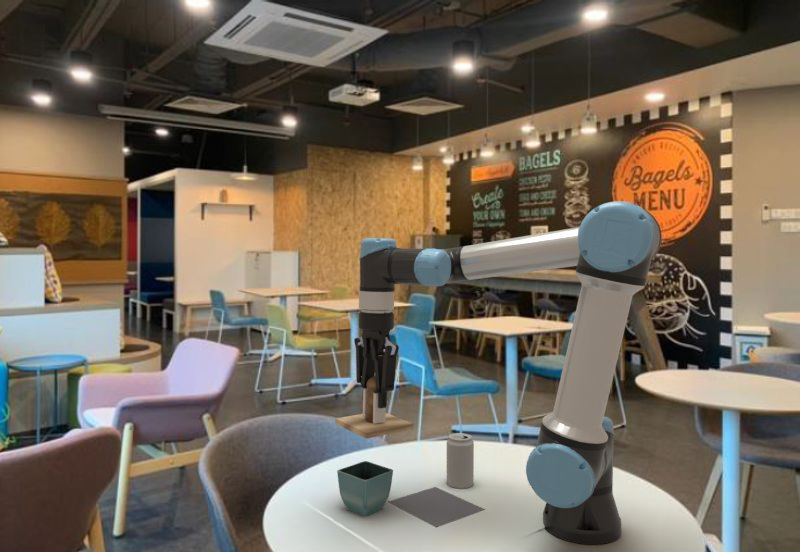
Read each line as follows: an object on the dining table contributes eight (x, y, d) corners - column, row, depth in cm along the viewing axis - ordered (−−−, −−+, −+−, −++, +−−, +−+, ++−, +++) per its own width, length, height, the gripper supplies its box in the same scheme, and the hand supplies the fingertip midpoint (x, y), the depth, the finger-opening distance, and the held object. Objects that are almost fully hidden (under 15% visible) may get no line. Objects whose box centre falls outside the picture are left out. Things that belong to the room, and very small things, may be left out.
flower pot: (394, 510, 130) (394, 469, 130) (365, 524, 124) (365, 480, 123) (365, 499, 136) (365, 460, 136) (335, 512, 129) (335, 470, 129)
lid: (413, 429, 129) (414, 378, 128) (366, 438, 122) (367, 385, 121) (380, 415, 139) (381, 368, 138) (335, 423, 131) (336, 374, 131)
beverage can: (472, 492, 141) (472, 441, 140) (444, 490, 142) (445, 439, 141) (474, 482, 147) (474, 433, 146) (448, 480, 148) (448, 431, 148)
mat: (485, 512, 130) (485, 509, 130) (436, 530, 121) (436, 527, 121) (435, 489, 142) (435, 486, 142) (387, 504, 134) (387, 501, 134)
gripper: (414, 313, 125) (411, 426, 126) (369, 306, 138) (367, 409, 139) (384, 315, 120) (381, 432, 121) (341, 308, 133) (339, 413, 134)
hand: (373, 419), depth 130 cm, fingers closed on lid, 3 cm apart
